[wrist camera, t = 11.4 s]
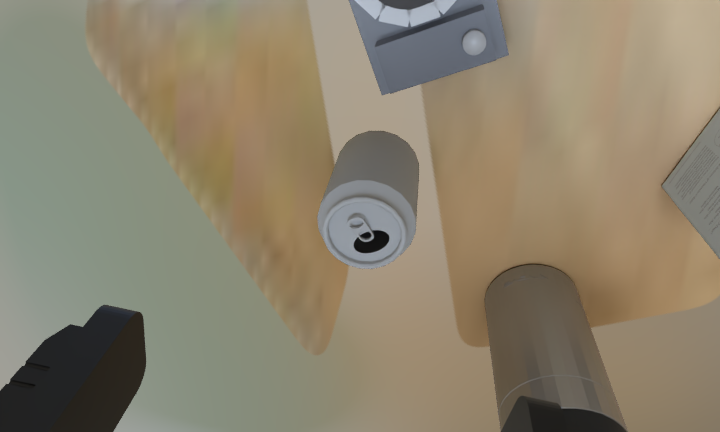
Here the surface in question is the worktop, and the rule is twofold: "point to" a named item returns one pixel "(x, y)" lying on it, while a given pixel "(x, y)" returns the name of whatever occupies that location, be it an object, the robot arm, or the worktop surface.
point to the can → (371, 201)
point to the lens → (405, 3)
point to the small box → (700, 184)
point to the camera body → (428, 39)
